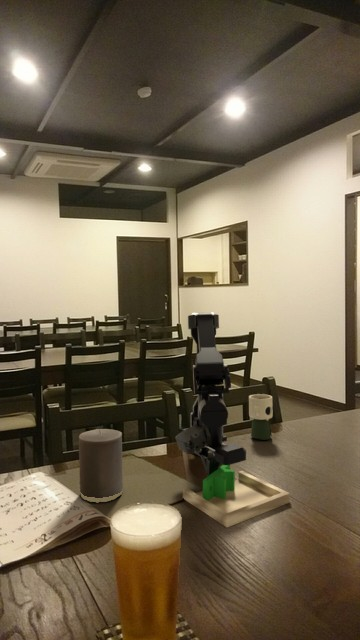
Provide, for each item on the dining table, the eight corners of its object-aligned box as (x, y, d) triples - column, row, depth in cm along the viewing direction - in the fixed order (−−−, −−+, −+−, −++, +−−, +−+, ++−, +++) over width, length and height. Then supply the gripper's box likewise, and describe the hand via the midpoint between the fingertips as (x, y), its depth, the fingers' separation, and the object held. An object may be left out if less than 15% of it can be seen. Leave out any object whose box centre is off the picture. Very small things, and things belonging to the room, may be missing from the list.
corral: (182, 498, 97) (182, 489, 97) (242, 478, 107) (242, 470, 107) (226, 527, 85) (226, 517, 85) (289, 502, 94) (289, 493, 94)
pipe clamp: (218, 505, 93) (218, 484, 93) (202, 500, 95) (202, 480, 95) (240, 484, 103) (240, 465, 103) (225, 481, 105) (225, 462, 105)
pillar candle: (86, 507, 94) (85, 438, 94) (75, 490, 103) (73, 426, 102) (129, 497, 99) (128, 431, 98) (115, 481, 108) (113, 420, 107)
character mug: (267, 445, 130) (266, 401, 129) (244, 442, 133) (243, 399, 132) (277, 434, 139) (276, 393, 138) (255, 432, 142) (254, 392, 142)
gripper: (159, 410, 105) (160, 474, 106) (206, 431, 89) (206, 506, 91) (198, 403, 111) (198, 463, 112) (248, 422, 95) (247, 492, 97)
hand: (210, 480), depth 103 cm, fingers closed
